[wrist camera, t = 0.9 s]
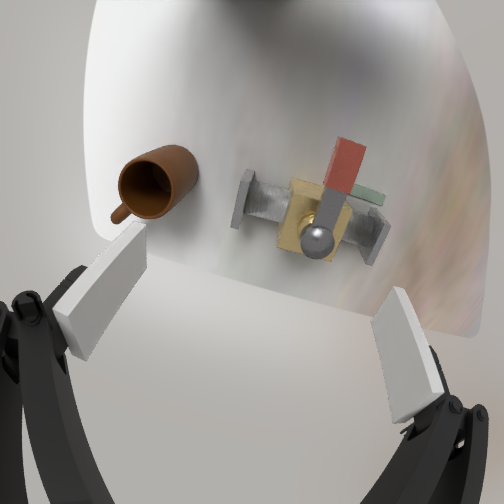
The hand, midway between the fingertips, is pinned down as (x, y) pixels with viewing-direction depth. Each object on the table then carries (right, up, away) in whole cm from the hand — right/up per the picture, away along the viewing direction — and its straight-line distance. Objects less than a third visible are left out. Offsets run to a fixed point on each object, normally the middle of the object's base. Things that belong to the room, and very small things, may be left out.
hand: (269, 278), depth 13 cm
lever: (+7, +7, +13) cm, 16 cm away
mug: (-13, +12, +23) cm, 30 cm away
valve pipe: (+7, +7, +23) cm, 25 cm away
